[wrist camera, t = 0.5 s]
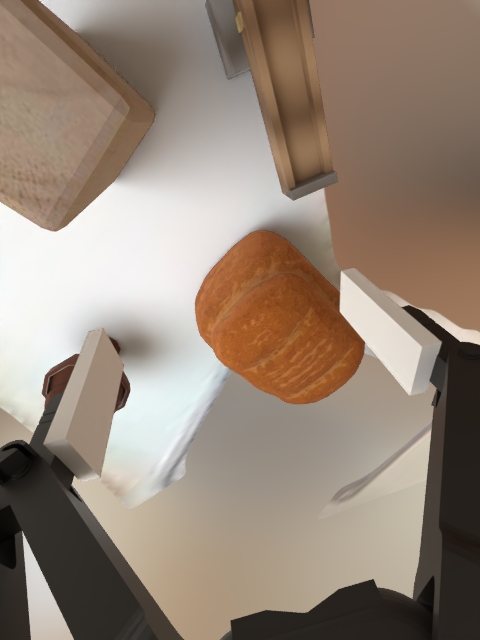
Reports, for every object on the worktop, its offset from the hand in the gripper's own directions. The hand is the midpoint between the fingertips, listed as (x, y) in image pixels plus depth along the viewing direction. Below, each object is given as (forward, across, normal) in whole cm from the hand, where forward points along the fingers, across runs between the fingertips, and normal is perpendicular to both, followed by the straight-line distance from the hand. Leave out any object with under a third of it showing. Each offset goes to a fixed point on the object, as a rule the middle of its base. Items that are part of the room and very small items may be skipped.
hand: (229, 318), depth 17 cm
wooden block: (+28, -9, +11) cm, 31 cm away
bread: (+27, +7, -17) cm, 33 cm away
